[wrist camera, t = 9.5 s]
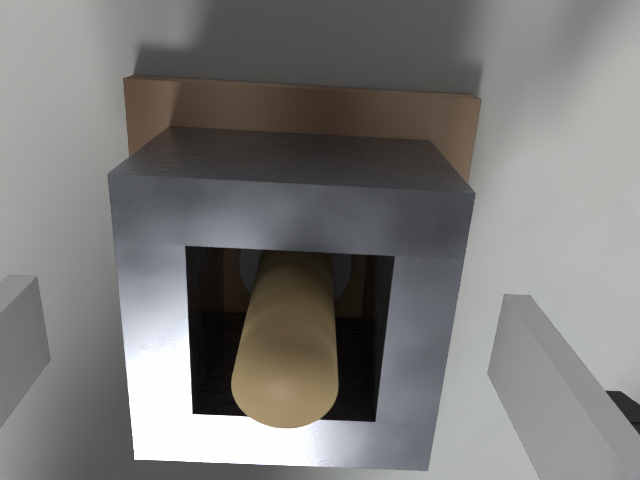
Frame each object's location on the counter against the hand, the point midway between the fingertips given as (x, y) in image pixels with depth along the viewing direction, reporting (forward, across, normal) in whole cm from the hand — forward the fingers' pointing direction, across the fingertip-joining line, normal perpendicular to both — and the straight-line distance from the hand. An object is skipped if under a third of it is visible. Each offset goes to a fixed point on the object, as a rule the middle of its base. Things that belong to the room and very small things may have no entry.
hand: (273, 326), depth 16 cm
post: (+6, +1, 0) cm, 6 cm away
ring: (+5, 0, 0) cm, 5 cm away
